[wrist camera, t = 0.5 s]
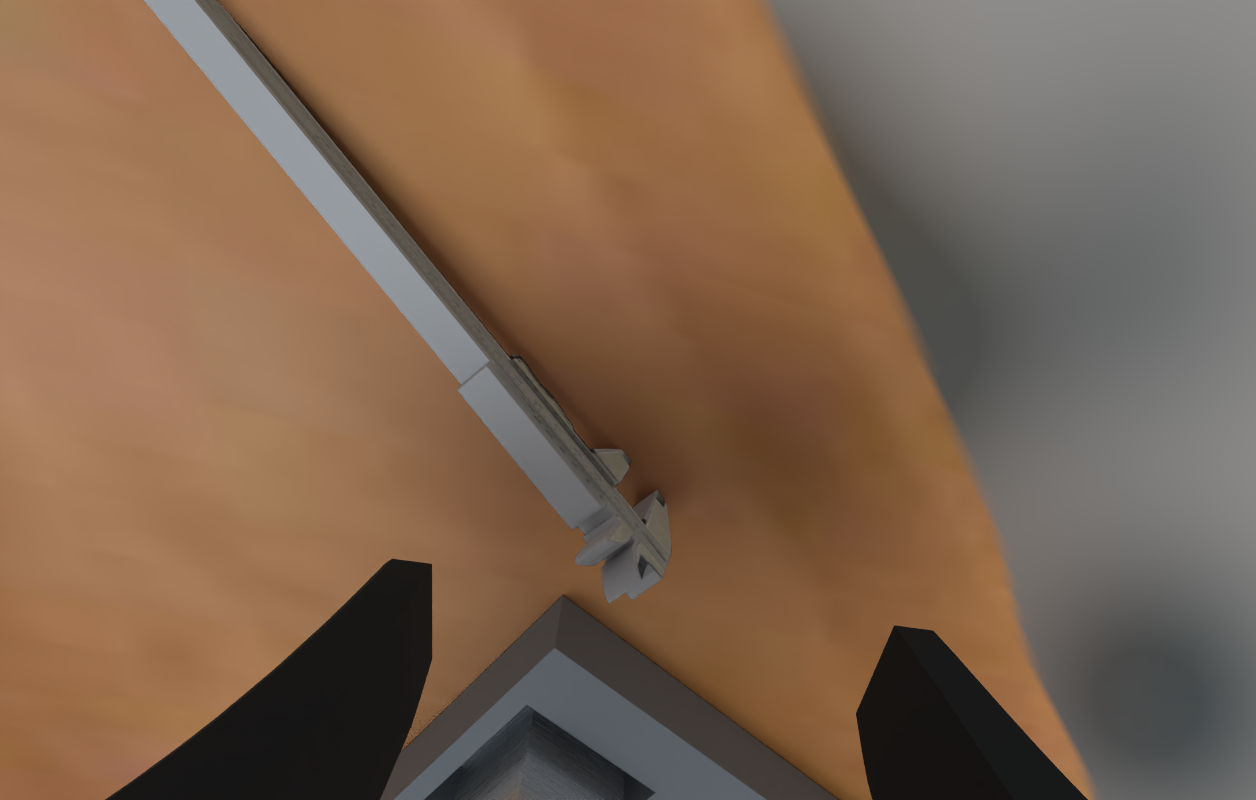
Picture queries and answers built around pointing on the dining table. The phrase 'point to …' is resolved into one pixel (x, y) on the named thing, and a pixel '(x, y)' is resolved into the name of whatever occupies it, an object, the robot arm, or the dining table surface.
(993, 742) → the robot arm
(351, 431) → the dining table surface
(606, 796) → the block
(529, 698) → the frame
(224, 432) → the dining table surface
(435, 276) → the caliper
